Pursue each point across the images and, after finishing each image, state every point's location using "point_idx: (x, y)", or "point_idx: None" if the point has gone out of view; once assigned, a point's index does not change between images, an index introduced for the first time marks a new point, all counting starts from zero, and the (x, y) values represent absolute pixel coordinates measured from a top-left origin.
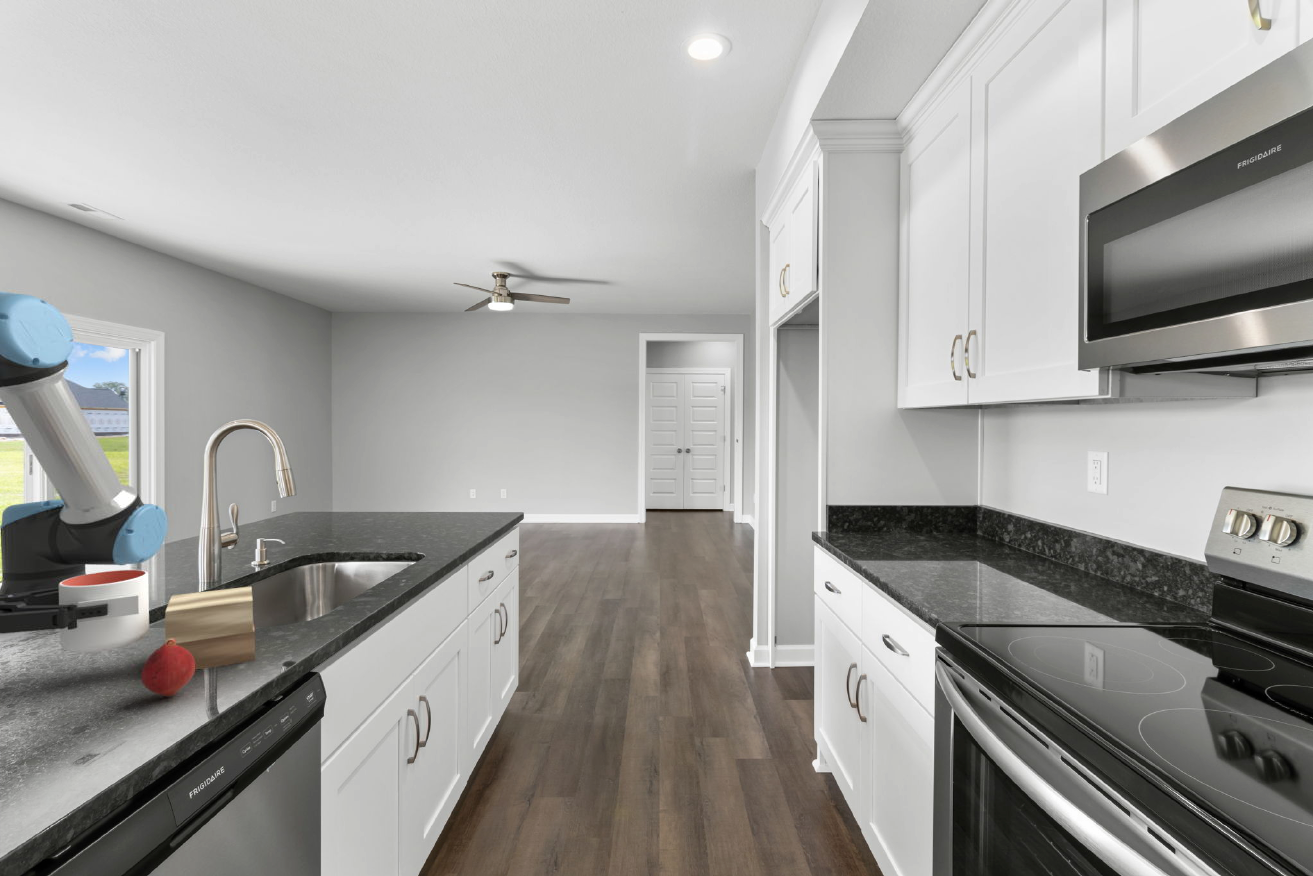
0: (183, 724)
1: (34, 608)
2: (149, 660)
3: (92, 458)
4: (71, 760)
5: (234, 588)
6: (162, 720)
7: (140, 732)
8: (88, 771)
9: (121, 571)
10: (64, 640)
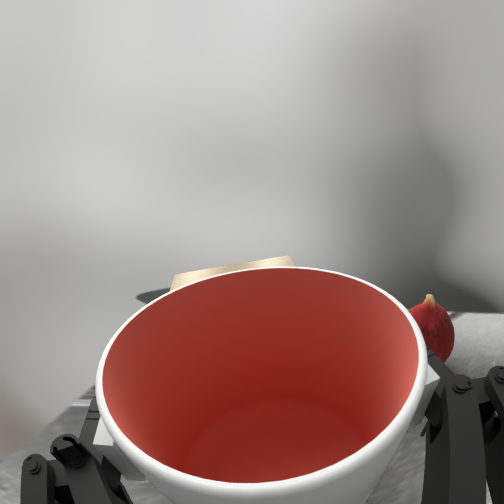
0: (477, 324)
1: (484, 492)
2: (449, 329)
3: None
4: None
5: (173, 285)
6: (473, 342)
7: (497, 344)
8: None
9: (125, 331)
10: None
